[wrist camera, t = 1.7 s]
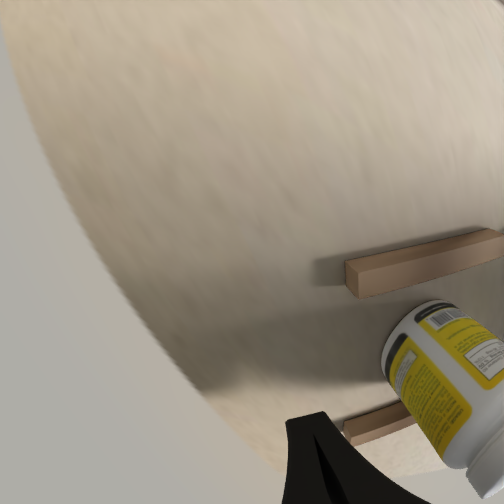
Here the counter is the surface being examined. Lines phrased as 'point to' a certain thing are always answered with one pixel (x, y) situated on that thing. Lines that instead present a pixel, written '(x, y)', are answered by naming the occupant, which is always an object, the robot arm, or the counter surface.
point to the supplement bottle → (452, 388)
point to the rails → (403, 275)
